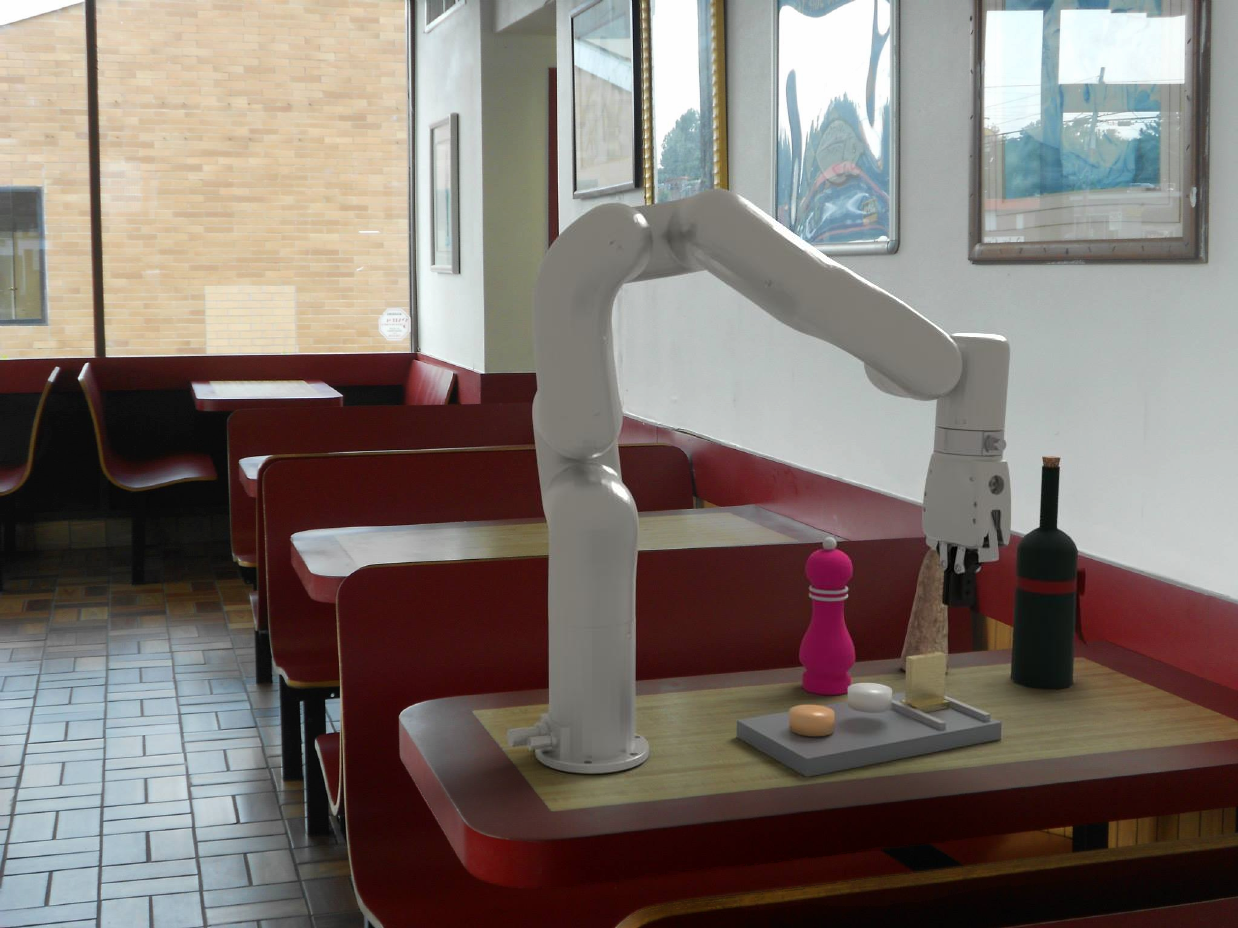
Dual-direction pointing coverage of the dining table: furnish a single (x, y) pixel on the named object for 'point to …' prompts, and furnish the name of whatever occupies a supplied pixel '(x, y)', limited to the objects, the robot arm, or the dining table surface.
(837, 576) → the pepper mill
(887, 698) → the white knob
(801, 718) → the orange button
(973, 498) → the robot arm
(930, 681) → the brass paddle
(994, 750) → the dining table surface
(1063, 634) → the wine bottle
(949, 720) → the control panel
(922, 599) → the brown speckled elongated rod
